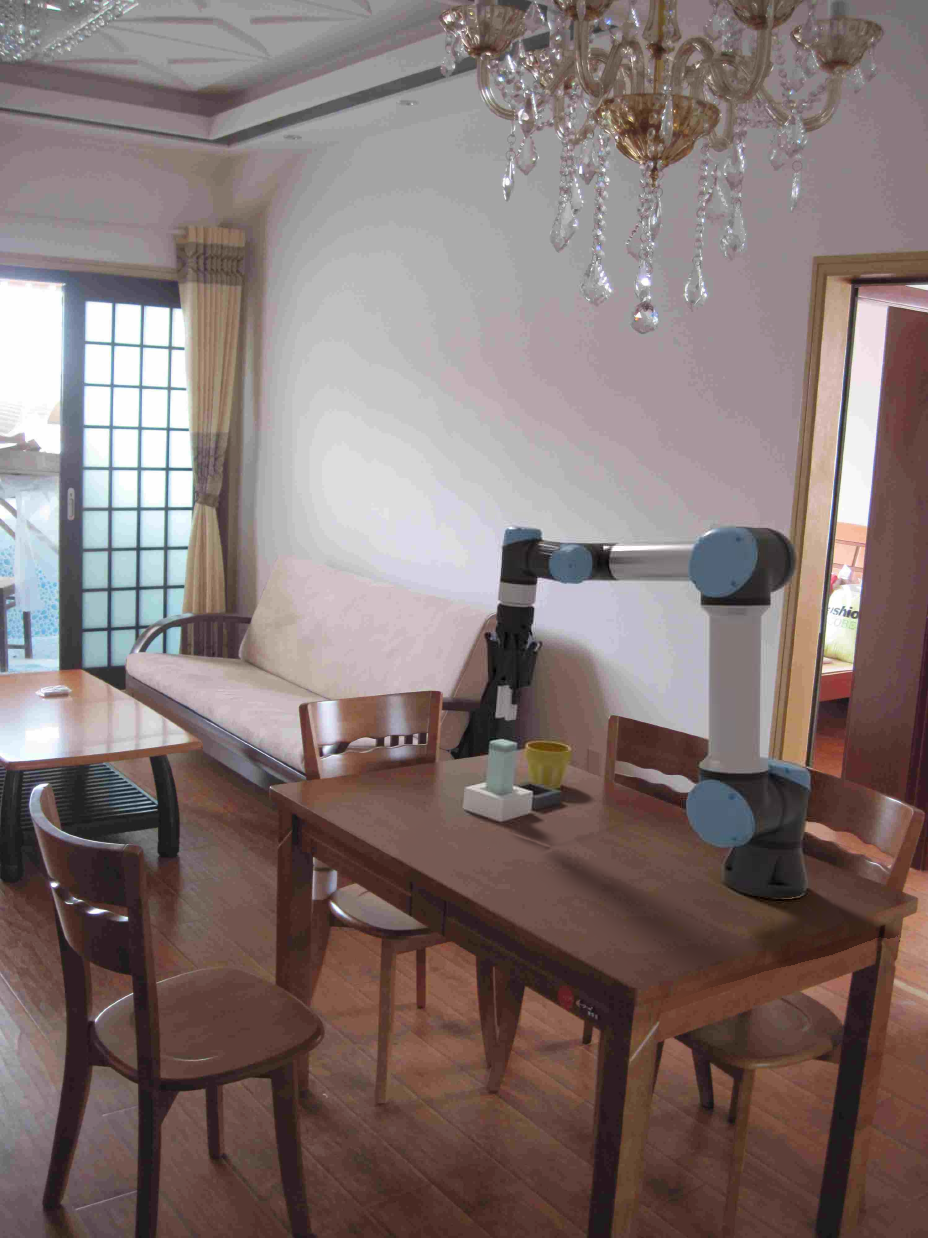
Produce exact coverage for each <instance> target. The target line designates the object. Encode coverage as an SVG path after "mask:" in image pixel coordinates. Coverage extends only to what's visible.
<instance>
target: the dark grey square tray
mask: <svg viewBox="0 0 928 1238" xmlns="http://www.w3.org/2000/svg"><path fill="white" fill-rule="evenodd" d="M513 786H516V787H520V788H523V789H526V790H529V791H533V796H532V807H531V810H534V811H538V810H542V809H545V808H548V807H551V806H555V805H559V804H561V803H562V800H563V797H562V796H563V791H562V790H559V789H553V788H550V787H547V786H543V785H540V784H537V783H533V782H530V780H527V781H525V782H521V783H516V784H513Z"/></svg>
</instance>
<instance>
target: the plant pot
mask: <svg viewBox="0 0 928 1238" xmlns="http://www.w3.org/2000/svg"><path fill="white" fill-rule="evenodd" d="M571 756H572V748H571V747H570V746H569V745H568V744H567V745H566V744H564V743H562V742H561V743H559V742H555V741H545V740H535V741H529V742H527V743H525V750H524V759H525V761H527V767H528V775H529V781H530V782H533V783H537V784H540V785H543V786H547V787H550V788H553V789H556V790H558V789H560V788H561V786H562V782H563V780H564V776H565V772H566V770H567V765H570V763H571V758H572V757H571Z"/></svg>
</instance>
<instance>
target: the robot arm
mask: <svg viewBox="0 0 928 1238" xmlns="http://www.w3.org/2000/svg"><path fill="white" fill-rule="evenodd" d="M542 533H543V532H542V531H541V529H539V528H535V527H528V526H517V525H516V526H515V525H512V526H508V527H507V528H506V529H505V531H504V535H503V540H502V541H503V542H502V545H501V564H500V576H499V583H498V584H499V585H498V592H497V593H498V594H497V600H498V601H499V602H500V603H498V604H497V606H496V616H495V618H496V619H495V620H496V621H497V624H496V626H495V629H493V630H492V631H487V632H484V638H485V642H486V654H487V656H486V657H487V658H486V659H487V679H488V680H489V681H492V682H493V683H494V685H495V688H494V689H495V690H494V700H495V701H496V709H495V717H494V718H497V719H501V718H504V720H505V721H513V720H517V712H518V705H520V703H521V698H522V691H523V688H524V689H525V688H528V687H530V686H531V685H532V680H533V676H534V673H535V672H534V670H535V667H536V663H537V659H538V654H539V651H540V650H541V648H542V646H543V642H542V640H537V639H536V638H535V637H533V636H534V635H533V631H532V627H533V625H534V620H535V610H536V609H535V607H534V604H536V596H537V588H538V587H537V586H538V579H543V580H549V581H553V582H560V583H561V584H563V585H564V584H570V585H571V584H572V585H579V584H582V583H583V582H586V581H589V582H590V581H591V582H592V581H594V582H596V581H598V582H601V581H604V582H605V581H606V582H611V581H612V582H614V581H616V582H619V581H636V582H637V581H638V582H640V581H641V582H642V581H643V582H648V581H649V582H691V583H692V584H694V586H695V589H696V590H697V591H698V592H700V607H701V608H702V609H703V610H704V611H705V612H706V614H708V617H709V622H708V623H709V630H708V631H709V637H708V638H709V639H708V641H709V642H708V644H709V645H708V652H709V653H708V656H709V657H708V659H709V660H708V751H707V752H708V754H707V756H706V757H705V758H704V759H702V761H700V762H699V765H698V767H699V768H698V770H699V771H698V782H697V783H696V784H695V785H694V786H693V788H692V789H691V790H690V791H689V792H688V794H687V797H686V798H687V799H686V801H685V802H686V804H685V805H686V806H685V807H686V815H687V819H688V822H689V823H690V826H691V827H692V829H693V831H695V832H696V833H697V835H698V836H699V837H700V838H701V839H702V840H703V841H704V842H706V843H707V844H709V845H711V846H715V847H717V848H718V847H719V848H730V849H729V851H728V853H727V856H726V857H725V859H724V861H723V863H722V867H721V875H720V879H721V881H722V883H723V884H725V885H726V886H727V887H729V888H730V889H733V890H735V891H737V892H739V893H741V892H742V894H744V893H745V894H744V895H748V894H749V895H748V896H751V895H753V896H752V897H755V896H758V897H757V898H760V897H766V898H778V899H780V898H781V899H782V898H791V897H797V896H800V895H802V894H803V893H805V892H806V893H807V890H808V889H807V888H808V876H807V869H806V866H805V860H804V856H803V839H804V834H805V827H806V819H807V813H808V812H807V811H808V805H809V798H810V797H809V796H810V792H811V786H810V785H811V773H810V771H809V770H808V769H807V768H805V767H803V766H801V765H799V764H798V765H797V764H795V763H792V762H789V761H784V760H780V759H776V758H770V757H765V756H764V757H763V756H761V755H760V753H761V751H760V750H761V744H760V743H761V681H762V679H761V678H762V677H761V673H762V672H761V669H762V668H761V662H762V652H761V651H762V647H761V646H762V617H763V615H764V614H766V612H767V611H768V610H769V609H770V608H771V607H772V606H771V605H772V603H771V601H772V593H775V592H777V591H780V590H781V589H783V588H784V587H785V586H786V585H787V584H788V583H789V582H790V581H791V580H792V579H793V576H794V574H795V572H796V569H797V563H798V559H797V552H796V549H795V547H794V545H793V543H792V541H791V540H790V539H789V538H788V537H787V535H785V534H784V533H781V532H780V531H778V530H775V529H773V528H769V527H753V526H752V527H750V526H738V525H729V526H721V527H716V528H713V529H710V530H708V531H706V532H705V533H704V534H702V535H701V536H700V538H699V539H698V540H694V541H687V540H686V541H647V542H644V541H643V542H590V543H589V542H559V541H552V540H551V541H550V540H545V539H543V537H542V536H543V535H542ZM510 663H511V679H510V681H511V685H508V684H509V681H508V676H509V675H508V674H509V668H510ZM806 889H807V890H806Z"/></svg>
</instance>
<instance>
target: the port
mask: <svg viewBox="0 0 928 1238" xmlns="http://www.w3.org/2000/svg"><path fill="white" fill-rule="evenodd" d="M485 788H486V781H485V782H482V783H477V784H474V785H469V786H466V787H464V790H463V791H464V795H463V804H462V809H463V810H465V811H467V812H471V813H473V814H475V815H476V814H477V815H479V816H483V817H485V818H488V819H491V820H494V821H498V822H506V821H508V820H512V819H515V818H519V817H522V816H526V815H528V814H531V813H532V809H531V807H532V796H533V791H529V790H526V789H523V788H520V787H516V786H513V793H509V794H506V795H502V796H501V795H498V794H495V793H491V792H488V791H485Z"/></svg>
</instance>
